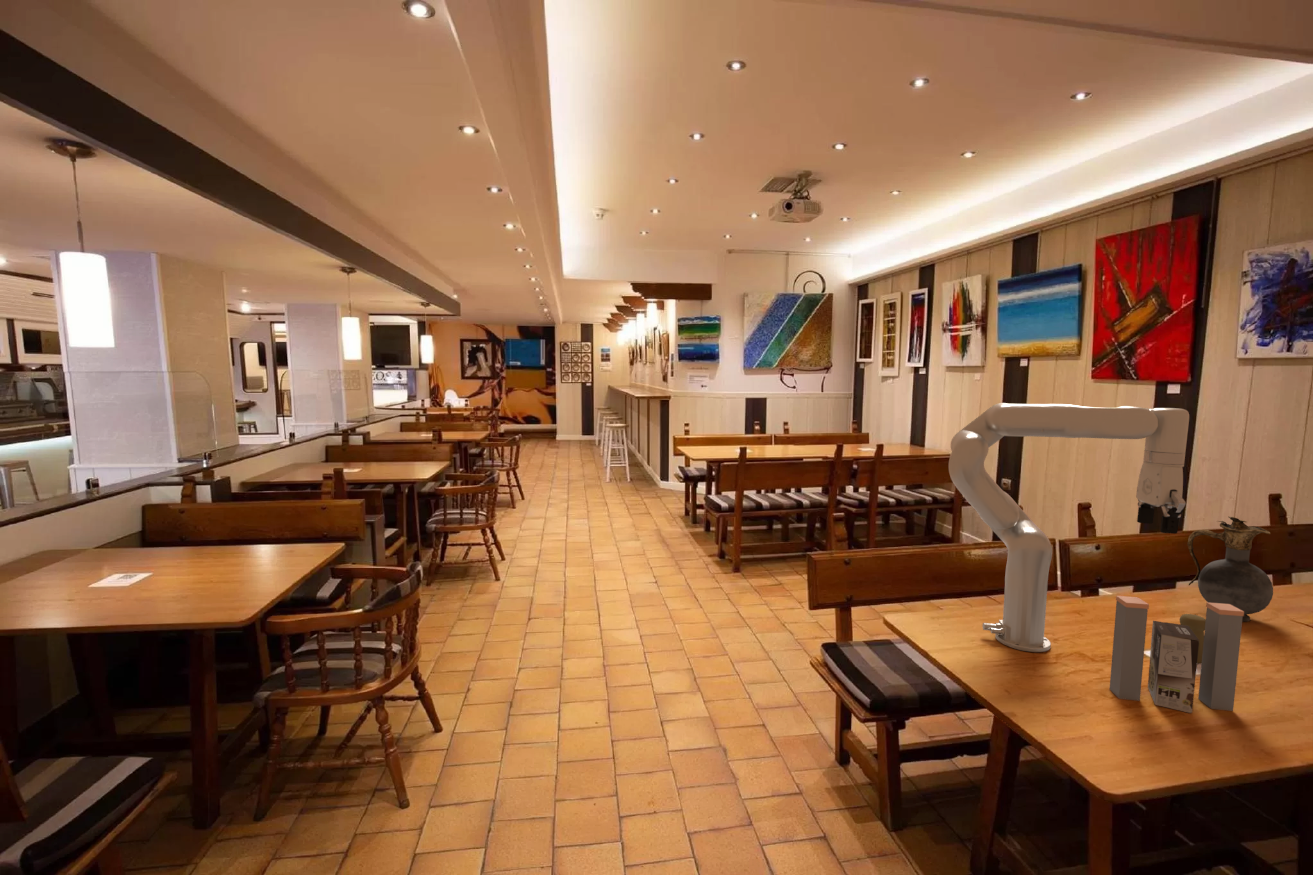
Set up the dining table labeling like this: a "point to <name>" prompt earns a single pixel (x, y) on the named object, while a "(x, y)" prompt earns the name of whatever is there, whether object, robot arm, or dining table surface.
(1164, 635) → the coffee box
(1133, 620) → the post near base
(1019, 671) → the dining table surface
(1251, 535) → the pitcher
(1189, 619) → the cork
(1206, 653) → the post far
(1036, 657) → the dining table surface
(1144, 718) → the dining table surface
